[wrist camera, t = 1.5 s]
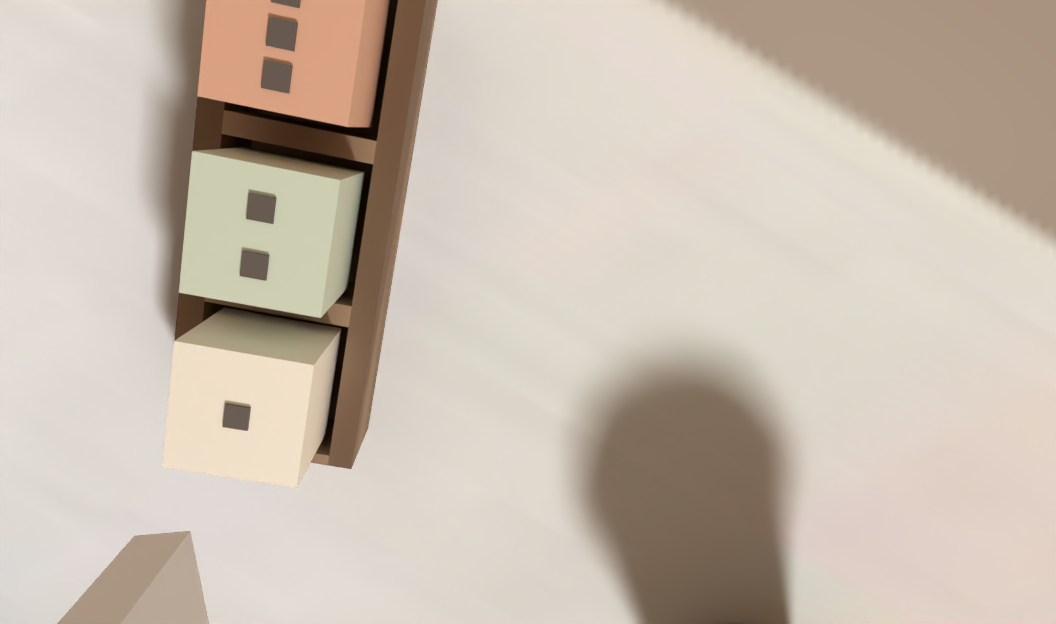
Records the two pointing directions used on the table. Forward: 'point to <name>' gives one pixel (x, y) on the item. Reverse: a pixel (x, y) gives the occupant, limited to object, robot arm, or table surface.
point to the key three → (295, 56)
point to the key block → (379, 216)
